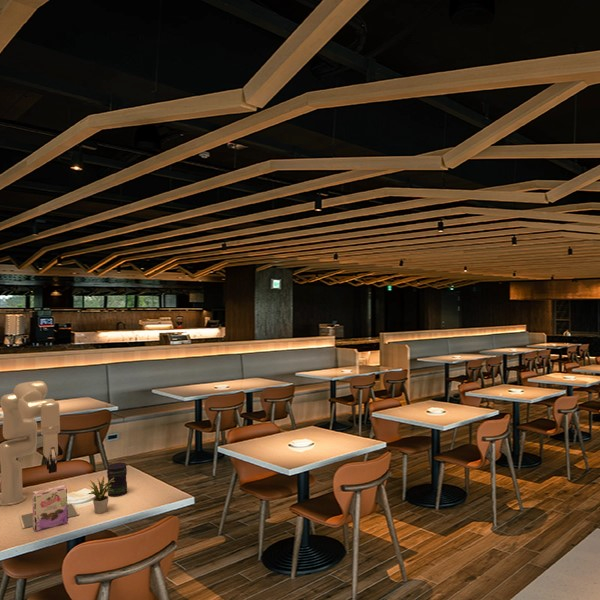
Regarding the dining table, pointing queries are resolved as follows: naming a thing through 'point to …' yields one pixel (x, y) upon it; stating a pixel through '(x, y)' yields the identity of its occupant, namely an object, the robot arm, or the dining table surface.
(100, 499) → the house plant
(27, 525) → the mat
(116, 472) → the rusty oil drum
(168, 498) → the dining table surface
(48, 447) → the robot arm
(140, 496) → the dining table surface
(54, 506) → the candy box
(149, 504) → the dining table surface
